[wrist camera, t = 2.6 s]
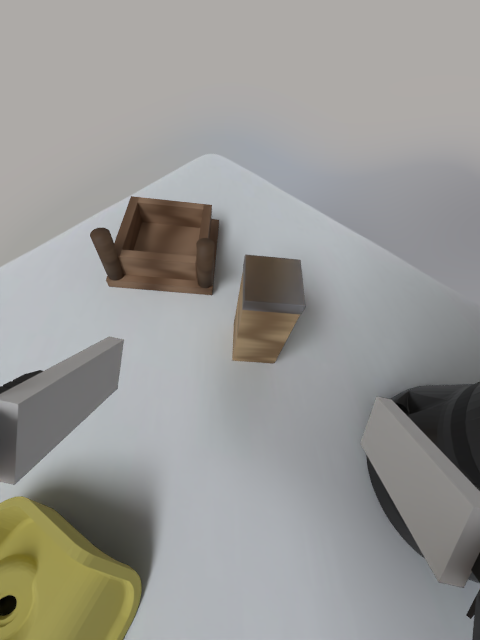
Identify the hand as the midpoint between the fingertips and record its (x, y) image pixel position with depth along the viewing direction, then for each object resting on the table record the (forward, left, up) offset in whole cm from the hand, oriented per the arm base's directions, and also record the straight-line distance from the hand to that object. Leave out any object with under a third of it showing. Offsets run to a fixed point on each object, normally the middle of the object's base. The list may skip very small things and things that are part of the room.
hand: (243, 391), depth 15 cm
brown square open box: (+8, -22, -14) cm, 27 cm away
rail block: (-3, -10, -14) cm, 17 cm away
